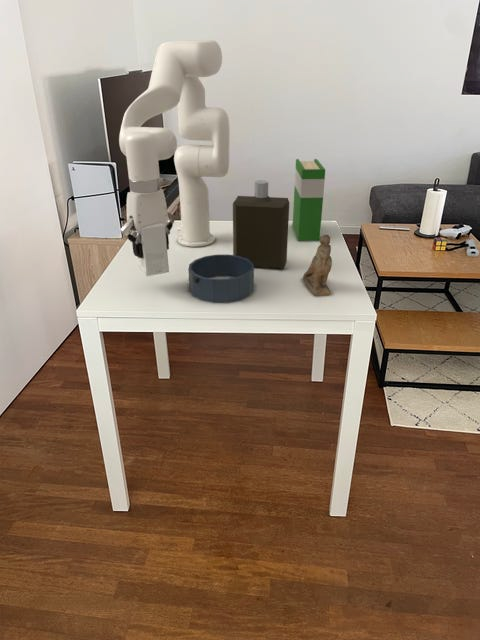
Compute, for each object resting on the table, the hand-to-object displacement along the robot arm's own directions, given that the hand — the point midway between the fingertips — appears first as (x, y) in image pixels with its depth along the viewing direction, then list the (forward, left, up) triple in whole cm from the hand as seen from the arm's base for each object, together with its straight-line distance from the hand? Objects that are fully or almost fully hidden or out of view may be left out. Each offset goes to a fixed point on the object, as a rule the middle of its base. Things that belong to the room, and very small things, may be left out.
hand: (151, 252), depth 126 cm
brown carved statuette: (+31, +32, -11) cm, 46 cm away
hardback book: (+1, +66, -11) cm, 67 cm away
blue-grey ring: (+13, +13, -11) cm, 21 cm away
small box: (0, 0, -5) cm, 5 cm away
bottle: (+9, +33, -11) cm, 36 cm away
